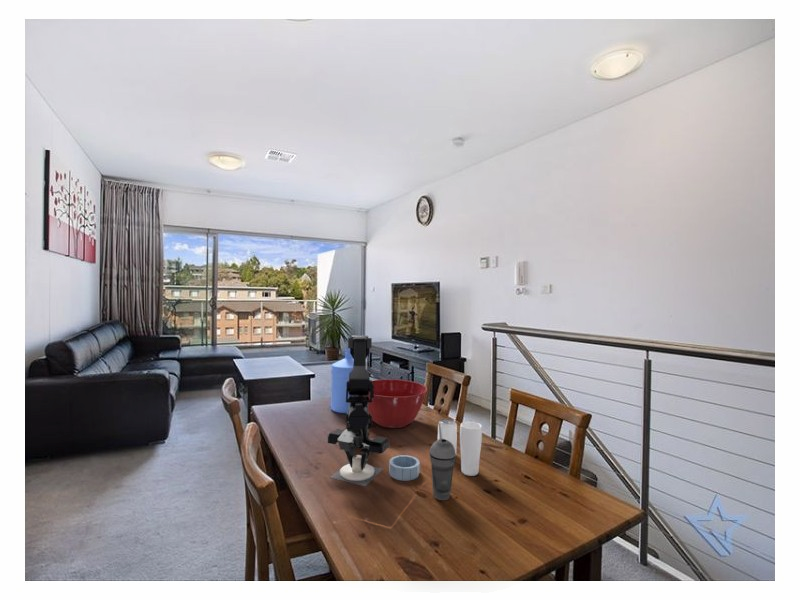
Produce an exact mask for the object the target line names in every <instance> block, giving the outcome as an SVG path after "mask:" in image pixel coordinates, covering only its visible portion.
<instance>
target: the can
mask: <svg viewBox="0 0 800 600" xmlns="http://www.w3.org/2000/svg"><path fill="white" fill-rule="evenodd" d="M439 423H440V424H441V436H442V439H446V440H448V441H450V442H451V443H452V445H453V446H454V449H455V454H456V455H457V446H458V444H457V443H458V438H457V437H458V426H457V425H458V424H457V421H456V420H455V419H452V418H441V419H439V422H438V424H437V440H439V439H440V434H439Z"/></svg>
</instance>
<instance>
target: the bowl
mask: <svg viewBox="0 0 800 600" xmlns="http://www.w3.org/2000/svg"><path fill="white" fill-rule="evenodd" d="M388 461H389V462H388V470H389V471H388V472H389V476H390V477H391V478H393V479H395V480H397V481H401V482H402V481H412V480H415V479H417V478H418V477H419V476H420V475H419V474H420V472H421V471H420V469H421V463H420V460H419V459H418V458H417V457H415V456H412V455H408V454H406V455H404V454H401V455H399V454H398V455H396V456H393V457H391V458H389V460H388Z"/></svg>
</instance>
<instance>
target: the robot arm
mask: <svg viewBox="0 0 800 600" xmlns="http://www.w3.org/2000/svg"><path fill="white" fill-rule="evenodd" d="M347 343H348V344H347V349H350V354H351V356H352V358H353V359H354V363H353V370H352V371H351V372H350V373H349V380H347V386H346V403H349V413H348V412H347V413H346V421H345V422H346V424H345V425H346V426H345V429H341V428H336V429H335V430H333V431H330V432H329V434H328V435H327V438H326V439H327V440H326V441H327V444H332V445H336V444H337V443H338V447H339V450H341V451H344V452H345V455H346V457H347V460H348V463H350V466H351V468H352V457H353V456H355V455H356V448H357V449H360V450H359V452H360V453H361V456H362V459H361V470H363V469H364V468H365V465H366V464H368V460H369V458H370V456H371V454H372V453H375V454H383V453H384V452H385V451H386V450H388V449H389V448H390V440H389V438H388V437H384V436H378V435H377V436H375V437H374V438H370V437H369V436H370V431H369V430H370V429H371V428H372V424H373V423H372V421H373V420H372V416H371V414H370V412H368V402H372V398H374V384H373V383H372V381H373V380H372V379H370V372H369V370H368V369H367V368H366V366H367V364H366V363H367V362H366V361H367V360H366V359H367V357H368V356H369V354H370V349H372V343H373V341H372V338H371V337H369V335H365V334H364V335H362V334H359V335H358V334H357V335H354V334H352V335H351V337H348V338H347ZM348 392H349V395H350V396H349V398H348ZM369 392H370V398H369V396H368V395H369Z"/></svg>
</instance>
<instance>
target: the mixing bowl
mask: <svg viewBox="0 0 800 600" xmlns="http://www.w3.org/2000/svg"><path fill="white" fill-rule="evenodd" d="M372 383H373V384H374V398H372V402H368V412H370V414H371V416H372V421H373V422H374V423H376V424H377V425H379V426H380V427H382V428H386V429H399V428H404V427H406V426H408V425H409V424H411V423H413V421H414V420H415V419H416V418H417V416H418V414H419V412H420V410H421V408H422V406H423V403H424V401H425V397H426V393H427V391H428V387H427V386H426V385H424V384H421V383H420V382H416V381H411V380H406V379H405V380H404V379H394V378H393V379H389V378H387V379H376V380H375V379H373V380H372ZM368 396H369V398H370V392H369V395H368Z"/></svg>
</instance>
